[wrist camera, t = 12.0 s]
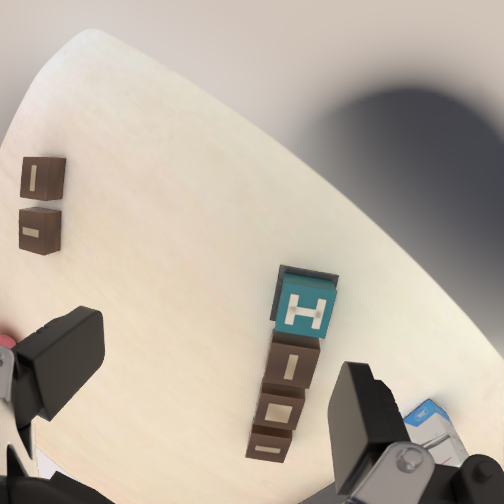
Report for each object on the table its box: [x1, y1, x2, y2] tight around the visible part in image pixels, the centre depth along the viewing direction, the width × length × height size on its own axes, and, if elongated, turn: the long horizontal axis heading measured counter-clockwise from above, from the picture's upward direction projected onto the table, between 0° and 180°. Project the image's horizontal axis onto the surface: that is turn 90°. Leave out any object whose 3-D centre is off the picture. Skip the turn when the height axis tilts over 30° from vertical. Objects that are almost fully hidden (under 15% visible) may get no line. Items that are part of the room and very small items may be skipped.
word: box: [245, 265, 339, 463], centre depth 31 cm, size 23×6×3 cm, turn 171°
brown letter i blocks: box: [19, 157, 66, 255], centre depth 30 cm, size 11×5×3 cm, turn 171°
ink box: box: [403, 399, 469, 467], centre depth 25 cm, size 9×5×15 cm, turn 139°
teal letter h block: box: [275, 273, 337, 339], centre depth 29 cm, size 5×5×3 cm
